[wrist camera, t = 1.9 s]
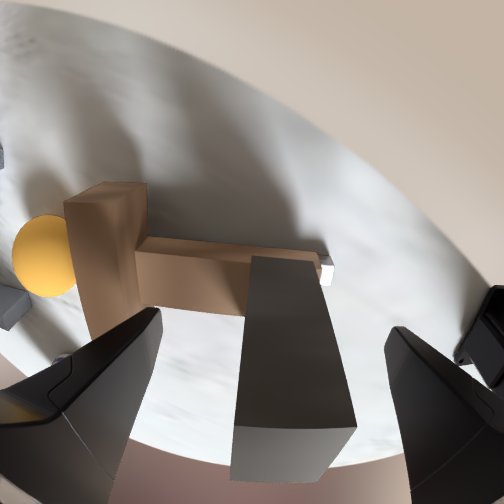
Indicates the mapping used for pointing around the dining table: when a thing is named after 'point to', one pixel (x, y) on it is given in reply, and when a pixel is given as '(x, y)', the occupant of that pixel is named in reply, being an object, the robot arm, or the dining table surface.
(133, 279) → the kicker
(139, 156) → the dining table surface
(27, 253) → the ball
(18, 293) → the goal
